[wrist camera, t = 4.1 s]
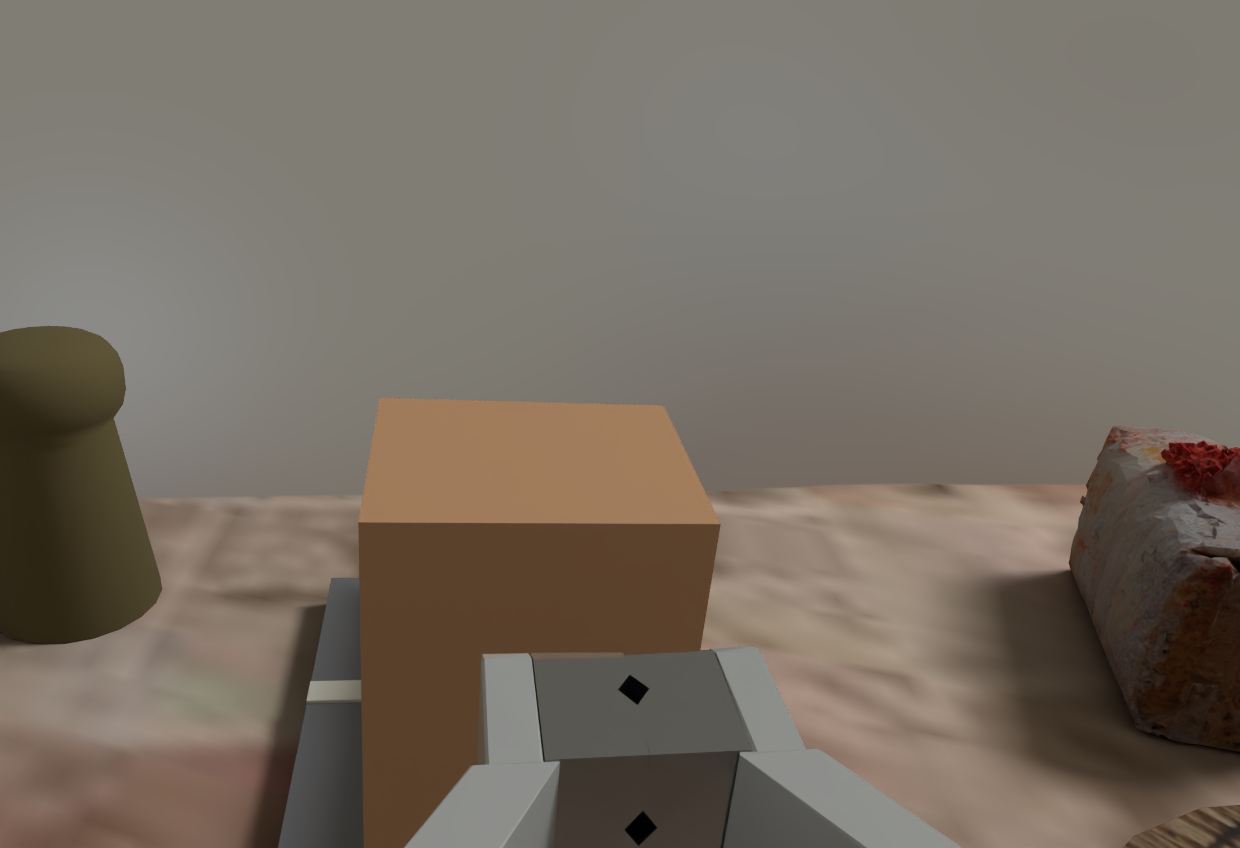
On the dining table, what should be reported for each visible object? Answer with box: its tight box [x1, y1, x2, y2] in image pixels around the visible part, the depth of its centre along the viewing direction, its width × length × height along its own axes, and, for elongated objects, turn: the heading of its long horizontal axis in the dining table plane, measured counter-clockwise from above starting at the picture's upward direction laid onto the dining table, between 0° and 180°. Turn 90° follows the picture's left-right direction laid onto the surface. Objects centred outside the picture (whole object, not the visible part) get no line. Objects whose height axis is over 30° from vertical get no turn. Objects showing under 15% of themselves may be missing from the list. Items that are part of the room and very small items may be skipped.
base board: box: [278, 578, 364, 848], centre depth 30 cm, size 24×12×1 cm, turn 9°
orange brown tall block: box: [358, 398, 720, 848], centre depth 21 cm, size 5×6×14 cm
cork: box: [0, 326, 162, 644], centre depth 36 cm, size 6×6×11 cm
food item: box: [1069, 426, 1240, 752], centre depth 41 cm, size 14×8×10 cm, turn 168°
